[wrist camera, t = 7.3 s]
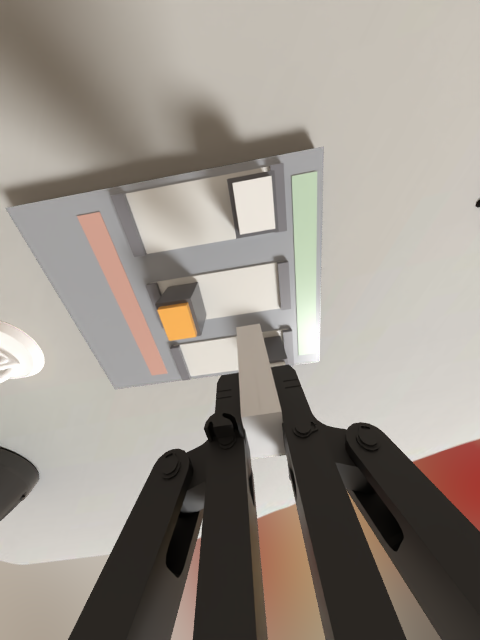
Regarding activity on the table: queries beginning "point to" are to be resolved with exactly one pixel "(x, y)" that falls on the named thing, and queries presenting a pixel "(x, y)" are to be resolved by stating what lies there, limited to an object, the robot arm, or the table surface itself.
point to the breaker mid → (182, 311)
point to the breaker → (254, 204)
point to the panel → (184, 267)
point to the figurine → (18, 353)
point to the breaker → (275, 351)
